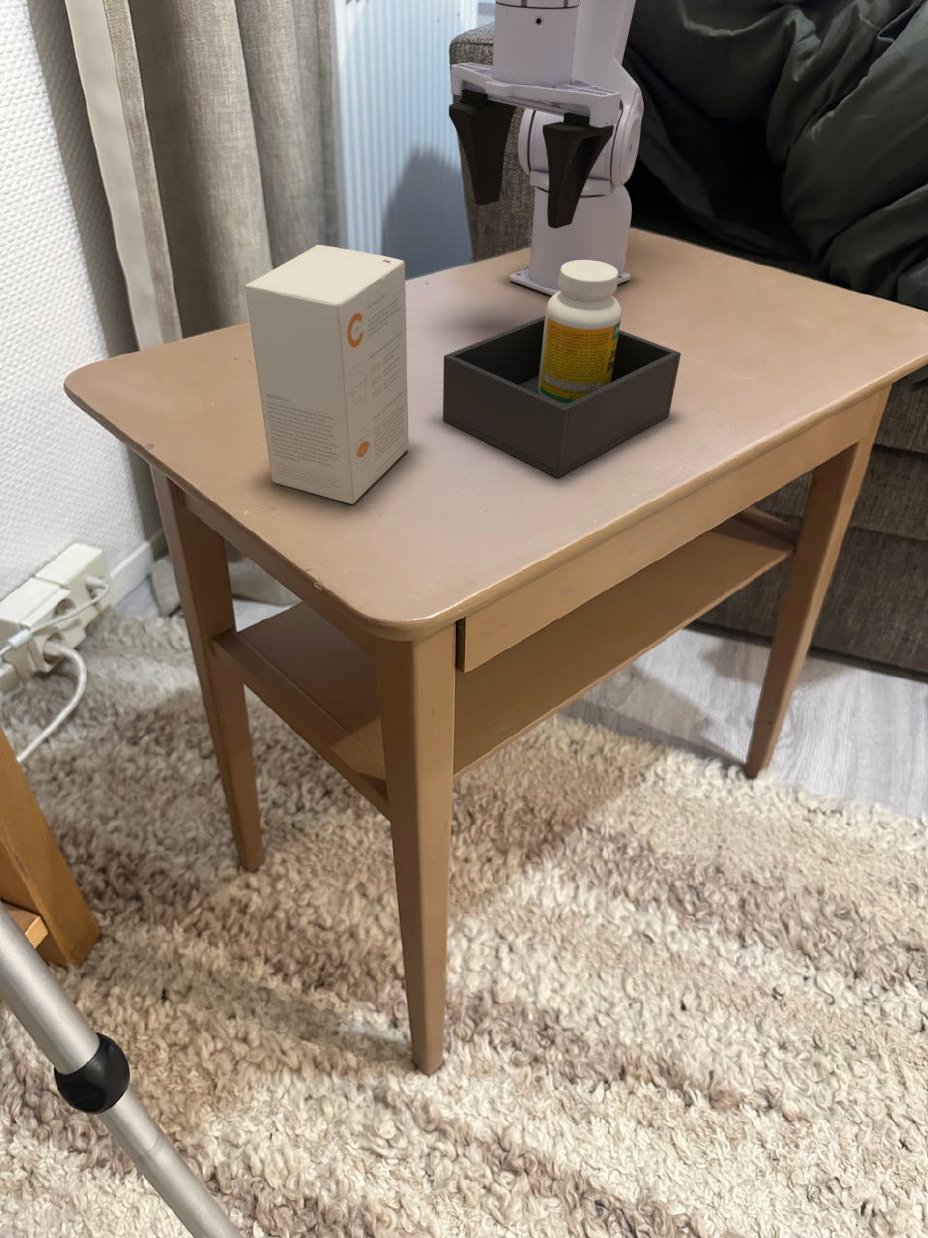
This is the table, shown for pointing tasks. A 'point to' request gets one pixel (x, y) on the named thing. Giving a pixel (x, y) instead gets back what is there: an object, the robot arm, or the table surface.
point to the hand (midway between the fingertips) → (522, 213)
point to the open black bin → (543, 429)
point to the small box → (332, 369)
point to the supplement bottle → (580, 332)
